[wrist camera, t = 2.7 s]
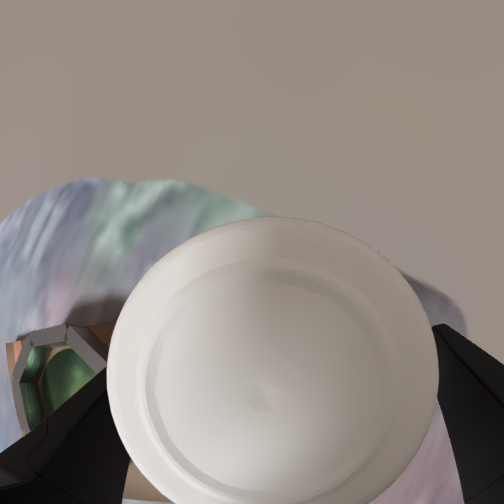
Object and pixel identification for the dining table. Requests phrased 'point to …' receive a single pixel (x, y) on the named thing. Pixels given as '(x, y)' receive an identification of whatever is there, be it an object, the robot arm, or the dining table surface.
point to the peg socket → (54, 370)
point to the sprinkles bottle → (272, 368)
